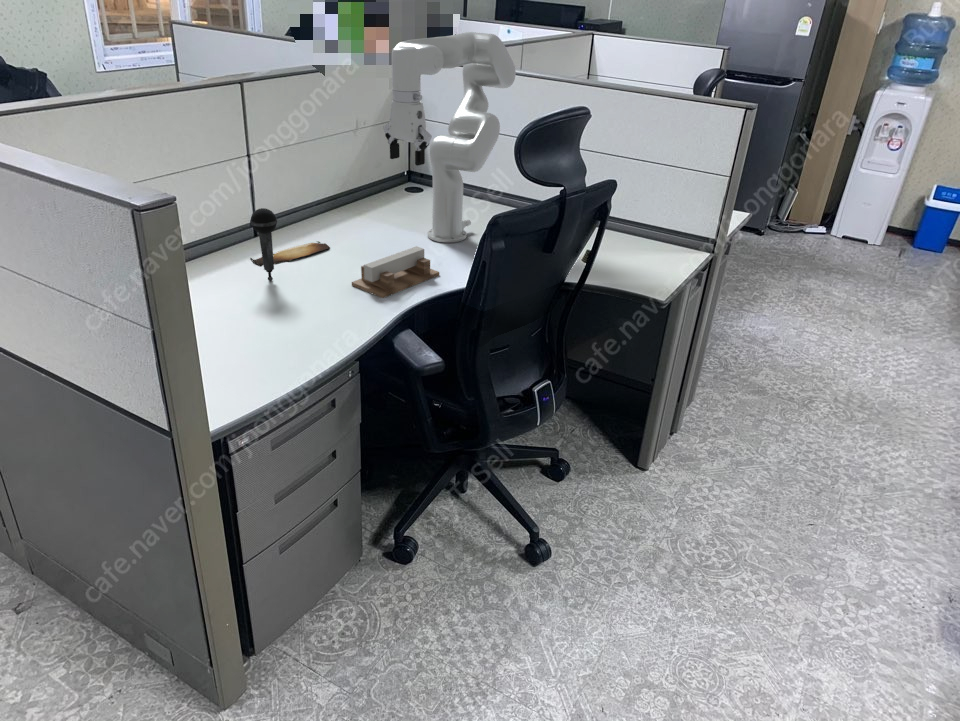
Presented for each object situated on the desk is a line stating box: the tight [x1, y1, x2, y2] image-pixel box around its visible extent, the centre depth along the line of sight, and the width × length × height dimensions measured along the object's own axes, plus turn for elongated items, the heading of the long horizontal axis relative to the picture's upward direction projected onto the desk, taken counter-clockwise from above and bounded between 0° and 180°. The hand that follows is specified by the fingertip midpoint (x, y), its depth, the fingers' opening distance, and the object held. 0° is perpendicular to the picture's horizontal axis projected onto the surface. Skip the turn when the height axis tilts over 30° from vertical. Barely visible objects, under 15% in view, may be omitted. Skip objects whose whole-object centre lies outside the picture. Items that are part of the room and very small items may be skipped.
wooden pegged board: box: [351, 257, 440, 299], centre depth 197 cm, size 22×12×5 cm, turn 141°
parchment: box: [250, 240, 331, 267], centre depth 213 cm, size 25×10×1 cm, turn 135°
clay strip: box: [363, 245, 425, 282], centre depth 196 cm, size 20×3×4 cm, turn 141°
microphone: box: [249, 208, 278, 282], centre depth 190 cm, size 7×7×20 cm
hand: (407, 161), depth 200 cm, fingers open, 9 cm apart
